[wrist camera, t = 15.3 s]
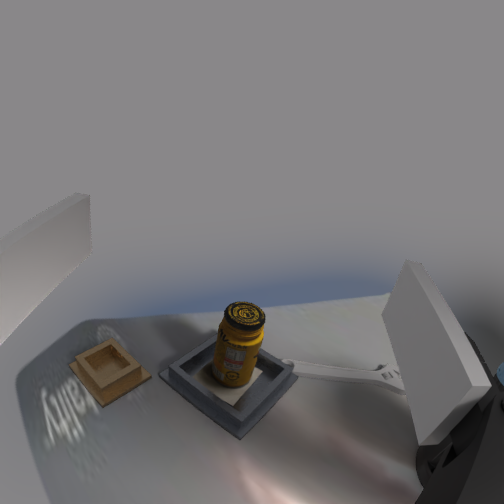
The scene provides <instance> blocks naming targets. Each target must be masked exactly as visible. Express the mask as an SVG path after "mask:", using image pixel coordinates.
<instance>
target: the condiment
mask: <svg viewBox="0 0 504 504" xmlns="http://www.w3.org/2000/svg"><path fill="white" fill-rule="evenodd" d="M224 312H225V313H224V317H223V320H222V322H221V323H220V325H219V329H218V335H217V341H216V345H215V352H214V358H213V359H212V360H211V361H210V362H209V363H208V364H206V365H205V366H204V367H203V368H202V369H201V370H200V371H199V372H197V373H196V374H195V375H194V376H193V378H194V379H195V380H196V381H198V382H199V383H200V384H202V385H203V386H204V387H206V388H207V389H208V390H210V391H211V392H212V393H214V394H215V395H216V396H218V397H219V398H221V399H222V400H223V401H225V402H227V403H229V404H230V405H232V406H233V405H234V404H235V403H236V402H237V401H238V400H239V398H240V397H241V396H242V395H243V394H244V393H245V392H246V390H247V389H248V388H249V387H250V386H251V385H252V384H253V382H254V381H255V380H256V379H257V378H258V376H259V375H260V374H261V373H262V371H261V370H260V369H258V368H256V367H255V364H256V361H257V357H258V354H259V351H260V347H261V344H262V340H263V336H264V332H263V328H264V323H265V314H264V312H263V311H262V309H260V308H259V307H258V306H256V305H254V304H252V303H248V302H235V303H232V304H230V305H229V306H228V307H227V308H226V310H225V311H224Z"/></svg>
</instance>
